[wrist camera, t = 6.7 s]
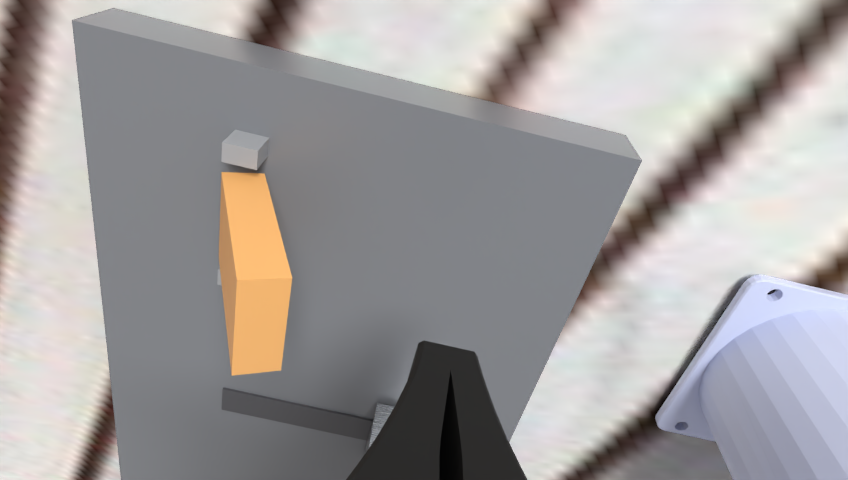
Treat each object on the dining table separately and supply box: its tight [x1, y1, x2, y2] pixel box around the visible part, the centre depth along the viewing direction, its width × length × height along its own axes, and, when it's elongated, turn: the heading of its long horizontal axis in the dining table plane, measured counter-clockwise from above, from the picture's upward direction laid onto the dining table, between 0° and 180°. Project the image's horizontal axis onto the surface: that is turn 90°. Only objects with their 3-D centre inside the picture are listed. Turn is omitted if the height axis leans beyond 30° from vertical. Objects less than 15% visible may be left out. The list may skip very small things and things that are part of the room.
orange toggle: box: [219, 172, 292, 376], centre depth 15 cm, size 1×3×5 cm, turn 167°
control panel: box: [72, 8, 642, 480], centre depth 23 cm, size 16×27×3 cm, turn 167°
